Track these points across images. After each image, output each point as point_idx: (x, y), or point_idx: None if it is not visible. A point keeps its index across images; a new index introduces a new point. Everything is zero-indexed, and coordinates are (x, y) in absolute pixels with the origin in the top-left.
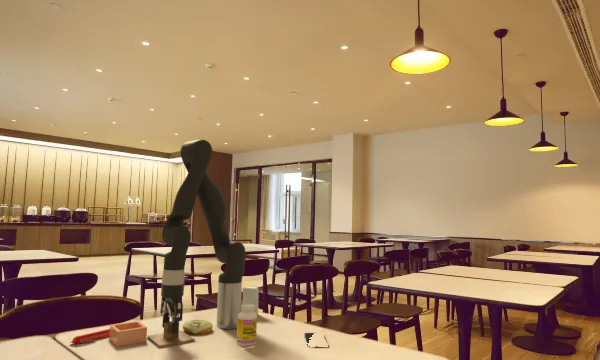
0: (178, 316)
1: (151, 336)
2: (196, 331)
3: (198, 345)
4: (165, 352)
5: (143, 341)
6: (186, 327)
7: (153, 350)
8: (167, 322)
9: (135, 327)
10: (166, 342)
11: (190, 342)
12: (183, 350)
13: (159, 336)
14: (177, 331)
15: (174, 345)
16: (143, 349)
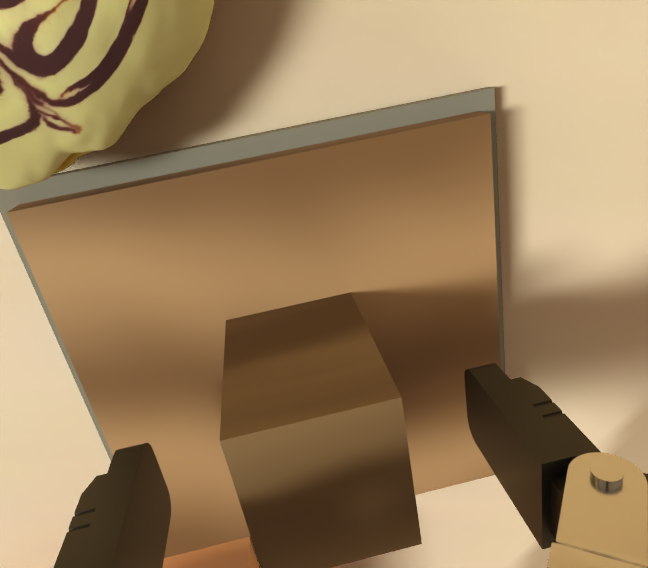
0: (643, 547)
1: (190, 530)
2: (211, 4)
3: (590, 88)
4: (590, 410)
5: (254, 563)
6: (68, 157)
7: (490, 485)
8: (297, 546)
9: None
10: (454, 417)
11: (495, 168)
12: (636, 269)
13: (219, 467)
14: (526, 384)
15: (500, 338)
16: (427, 545)
